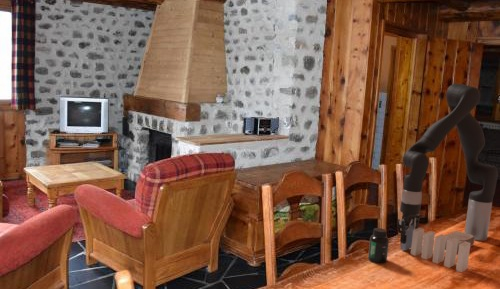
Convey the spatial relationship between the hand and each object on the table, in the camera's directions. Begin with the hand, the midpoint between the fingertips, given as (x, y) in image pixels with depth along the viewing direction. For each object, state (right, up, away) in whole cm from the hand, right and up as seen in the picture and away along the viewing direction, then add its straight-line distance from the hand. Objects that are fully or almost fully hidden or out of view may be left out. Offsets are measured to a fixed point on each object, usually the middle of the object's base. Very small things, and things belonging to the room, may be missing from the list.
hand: (406, 241), depth 182 cm
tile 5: (+12, -6, -13) cm, 18 cm away
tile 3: (+6, -5, -6) cm, 10 cm away
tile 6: (+15, -7, -16) cm, 23 cm away
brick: (+23, -4, +8) cm, 25 cm away
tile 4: (+9, -6, -9) cm, 14 cm away
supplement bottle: (-15, -5, -11) cm, 19 cm away
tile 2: (+3, -4, -3) cm, 6 cm away
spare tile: (0, -3, 0) cm, 3 cm away
